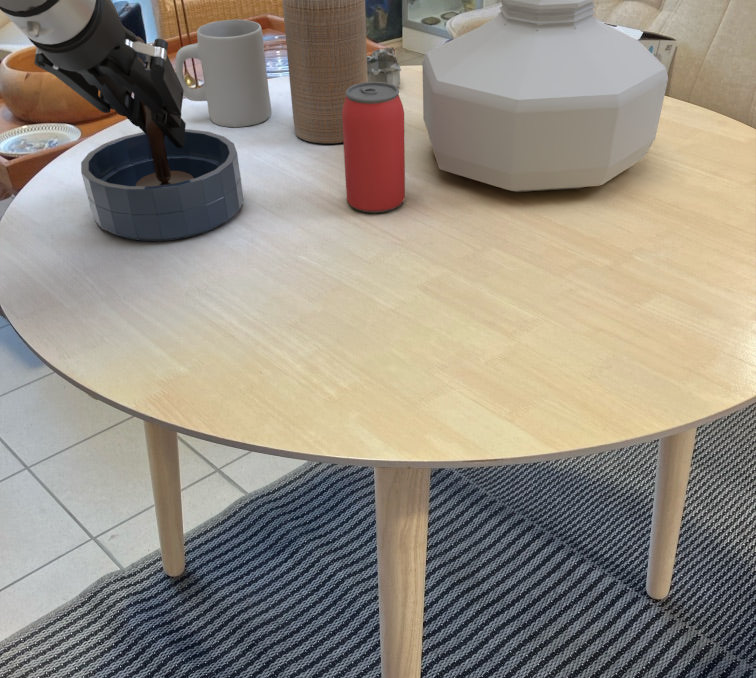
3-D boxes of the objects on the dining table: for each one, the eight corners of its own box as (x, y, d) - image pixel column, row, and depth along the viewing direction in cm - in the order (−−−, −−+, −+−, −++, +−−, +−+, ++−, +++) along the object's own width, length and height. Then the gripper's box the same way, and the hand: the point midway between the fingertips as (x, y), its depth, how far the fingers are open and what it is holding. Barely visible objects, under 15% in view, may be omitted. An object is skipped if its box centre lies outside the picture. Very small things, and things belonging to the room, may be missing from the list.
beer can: (384, 185, 100) (381, 75, 92) (416, 205, 96) (416, 92, 88) (336, 199, 98) (328, 88, 89) (366, 220, 93) (361, 105, 85)
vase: (305, 116, 117) (284, -135, 98) (376, 119, 116) (368, -135, 97) (285, 143, 110) (259, -121, 91) (360, 147, 109) (349, -122, 90)
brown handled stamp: (131, 200, 97) (93, 35, 85) (184, 186, 99) (153, 24, 88) (152, 220, 93) (114, 50, 81) (206, 205, 95) (177, 37, 84)
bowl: (75, 203, 99) (60, 151, 95) (207, 169, 105) (199, 118, 101) (125, 259, 88) (111, 203, 84) (268, 217, 95) (262, 163, 91)
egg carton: (396, 75, 129) (396, 45, 126) (402, 92, 124) (402, 61, 121) (326, 79, 128) (324, 49, 126) (329, 96, 123) (327, 65, 120)
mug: (267, 102, 122) (257, 16, 114) (276, 123, 116) (266, 33, 108) (182, 112, 120) (166, 25, 112) (186, 133, 114) (170, 43, 106)
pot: (637, 222, 91) (674, 29, 78) (388, 194, 98) (384, 12, 85) (661, 128, 110) (693, -40, 98) (450, 110, 117) (455, -48, 105)
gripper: (-27, 47, 73) (106, 165, 96) (134, 51, 70) (230, 171, 93) (-15, -40, 73) (114, 99, 96) (145, -38, 70) (238, 104, 94)
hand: (171, 135), depth 95 cm, fingers closed on brown handled stamp, 2 cm apart
